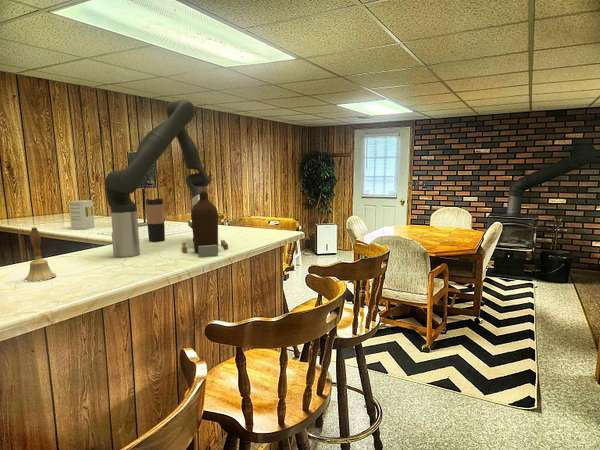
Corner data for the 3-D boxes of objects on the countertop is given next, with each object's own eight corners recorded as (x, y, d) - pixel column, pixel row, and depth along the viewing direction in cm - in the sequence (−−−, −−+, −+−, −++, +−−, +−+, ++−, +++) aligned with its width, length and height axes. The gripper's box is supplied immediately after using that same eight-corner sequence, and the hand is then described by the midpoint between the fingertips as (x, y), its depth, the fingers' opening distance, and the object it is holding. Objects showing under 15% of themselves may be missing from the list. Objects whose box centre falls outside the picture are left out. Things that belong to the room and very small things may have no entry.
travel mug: (159, 242, 176) (156, 199, 173) (145, 242, 178) (142, 199, 175) (168, 239, 183) (165, 198, 181) (154, 239, 185) (151, 198, 182)
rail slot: (183, 253, 151) (182, 248, 151) (182, 247, 162) (182, 243, 162) (228, 249, 157) (228, 244, 157) (224, 244, 168) (224, 240, 168)
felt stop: (199, 257, 143) (198, 247, 142) (198, 256, 145) (198, 246, 144) (217, 255, 145) (217, 245, 144) (217, 254, 147) (216, 244, 146)
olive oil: (224, 249, 156) (222, 189, 153) (209, 255, 146) (205, 190, 143) (204, 248, 160) (201, 189, 157) (187, 253, 151) (183, 190, 147)
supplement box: (86, 229, 223) (83, 201, 220) (70, 229, 223) (68, 201, 221) (95, 227, 232) (92, 200, 230) (80, 227, 232) (77, 200, 230)
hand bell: (21, 283, 111) (14, 230, 109) (28, 276, 119) (22, 226, 117) (53, 280, 115) (48, 228, 113) (58, 273, 122) (53, 225, 120)
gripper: (185, 202, 162) (188, 234, 153) (216, 201, 167) (221, 232, 157) (185, 213, 168) (188, 245, 159) (215, 211, 173) (220, 242, 163)
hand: (205, 239), depth 158 cm, fingers closed
